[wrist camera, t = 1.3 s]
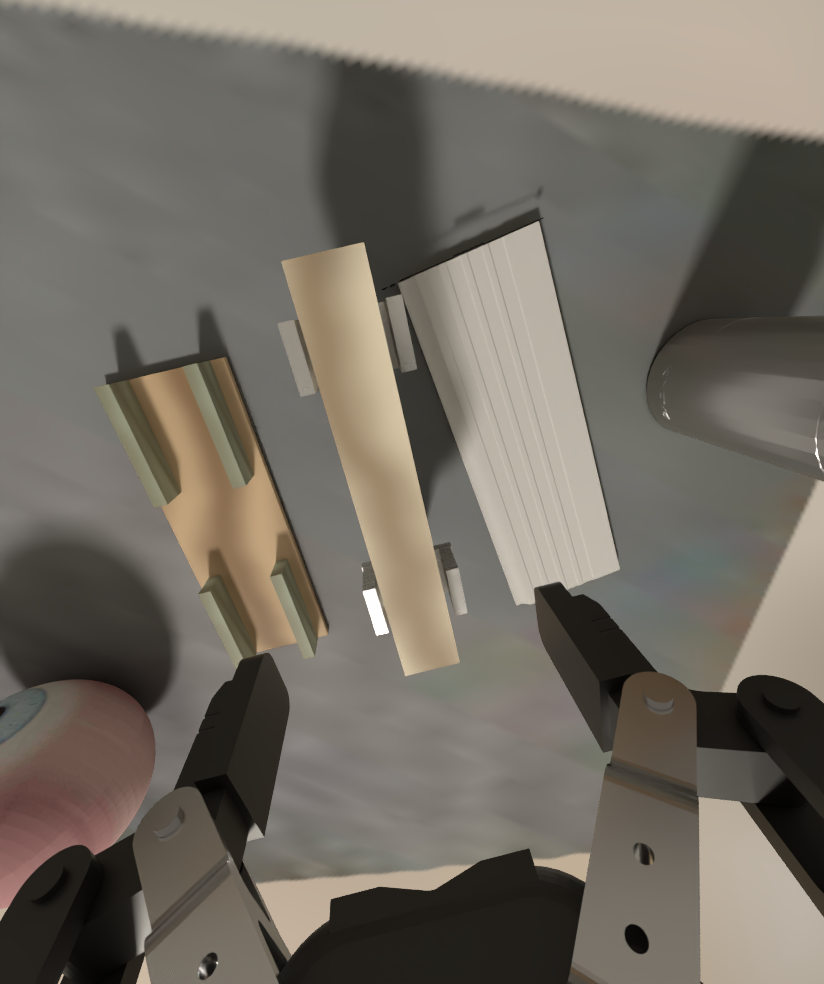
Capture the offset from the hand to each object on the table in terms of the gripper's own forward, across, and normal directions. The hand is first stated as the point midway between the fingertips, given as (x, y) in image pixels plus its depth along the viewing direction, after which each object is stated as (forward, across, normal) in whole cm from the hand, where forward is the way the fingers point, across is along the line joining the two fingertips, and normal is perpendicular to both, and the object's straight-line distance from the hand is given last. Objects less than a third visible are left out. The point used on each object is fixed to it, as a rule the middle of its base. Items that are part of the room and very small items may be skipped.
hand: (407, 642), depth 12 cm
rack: (+23, +14, +4) cm, 28 cm away
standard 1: (+23, 0, -8) cm, 25 cm away
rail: (+15, 0, 0) cm, 15 cm away
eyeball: (+24, +33, +19) cm, 45 cm away
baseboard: (+24, -11, +3) cm, 27 cm away
